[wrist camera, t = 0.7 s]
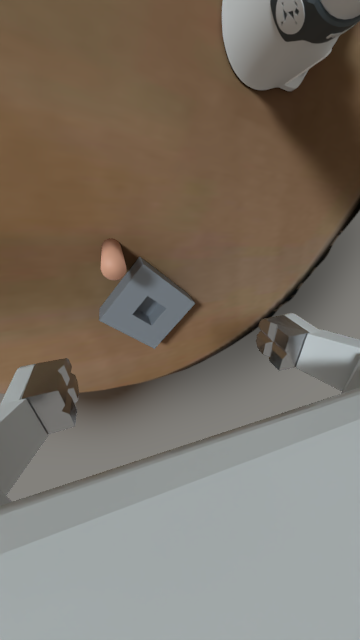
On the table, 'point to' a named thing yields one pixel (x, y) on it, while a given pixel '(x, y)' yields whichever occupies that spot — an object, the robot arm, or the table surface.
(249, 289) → the table surface
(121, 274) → the peg
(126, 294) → the socket block
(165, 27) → the table surface
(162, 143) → the table surface
